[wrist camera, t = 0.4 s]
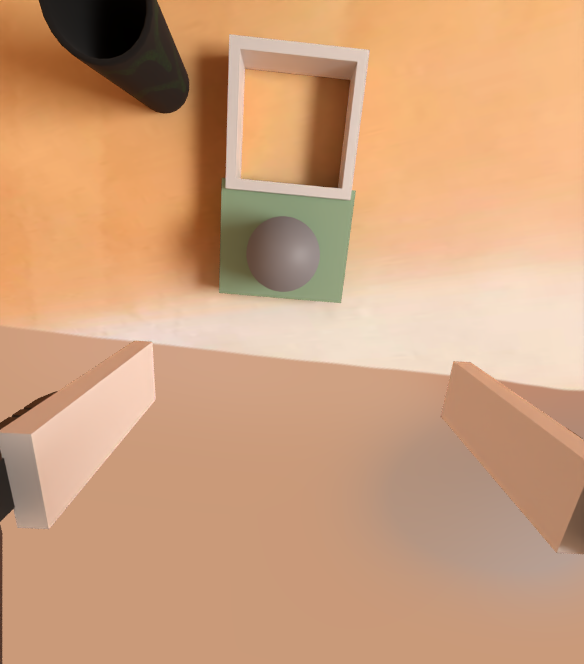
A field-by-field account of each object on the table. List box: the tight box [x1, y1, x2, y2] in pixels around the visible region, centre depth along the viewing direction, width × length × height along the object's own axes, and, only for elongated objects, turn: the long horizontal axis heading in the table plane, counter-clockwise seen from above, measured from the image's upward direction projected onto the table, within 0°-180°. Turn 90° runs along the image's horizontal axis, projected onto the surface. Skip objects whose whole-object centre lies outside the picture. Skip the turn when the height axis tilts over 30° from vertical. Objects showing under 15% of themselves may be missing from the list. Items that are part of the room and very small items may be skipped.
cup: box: [39, 0, 189, 113], centre depth 27 cm, size 8×8×12 cm
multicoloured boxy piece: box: [219, 34, 370, 303], centre depth 32 cm, size 24×14×8 cm, turn 175°
